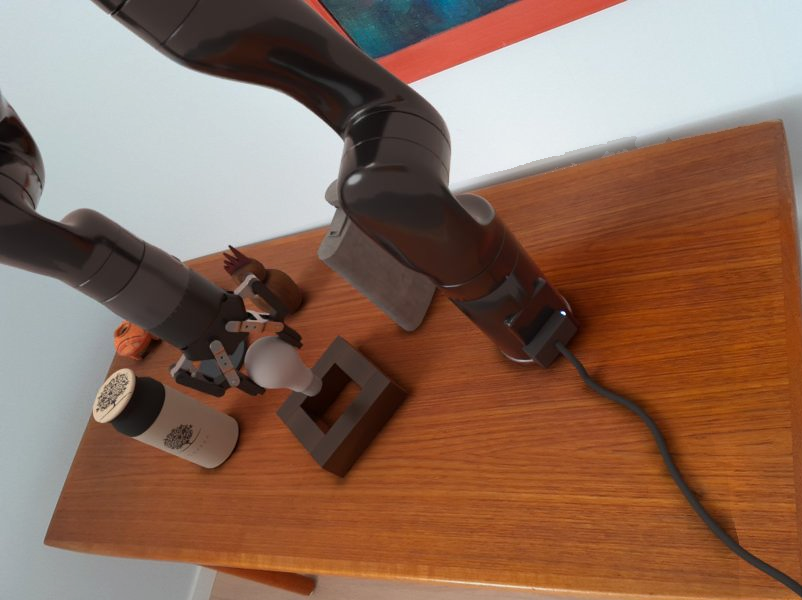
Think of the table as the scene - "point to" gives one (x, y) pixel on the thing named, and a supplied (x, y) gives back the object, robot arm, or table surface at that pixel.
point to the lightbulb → (279, 366)
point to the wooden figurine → (264, 280)
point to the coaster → (236, 359)
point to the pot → (131, 340)
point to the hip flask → (374, 270)
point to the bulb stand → (358, 420)
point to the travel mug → (165, 418)
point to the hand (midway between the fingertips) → (280, 366)
